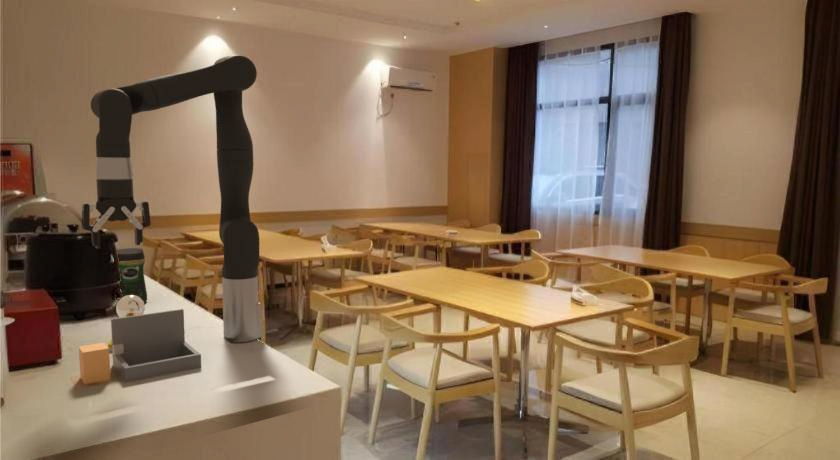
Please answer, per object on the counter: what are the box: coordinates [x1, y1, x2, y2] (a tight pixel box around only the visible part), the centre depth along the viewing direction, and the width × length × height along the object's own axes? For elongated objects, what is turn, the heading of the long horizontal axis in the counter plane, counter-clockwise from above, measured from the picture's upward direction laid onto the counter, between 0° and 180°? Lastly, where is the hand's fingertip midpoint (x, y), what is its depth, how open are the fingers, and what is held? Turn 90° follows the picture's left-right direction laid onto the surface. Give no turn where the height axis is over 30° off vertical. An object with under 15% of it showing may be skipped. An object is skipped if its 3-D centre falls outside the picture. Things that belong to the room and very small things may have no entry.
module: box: [78, 342, 111, 385], centre depth 129 cm, size 5×5×7 cm
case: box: [110, 308, 202, 383], centre depth 138 cm, size 16×13×12 cm
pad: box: [70, 369, 119, 390], centre depth 130 cm, size 8×8×1 cm
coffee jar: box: [115, 247, 148, 304], centre depth 199 cm, size 10×8×19 cm
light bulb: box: [115, 295, 146, 318], centre depth 161 cm, size 7×7×12 cm
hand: (118, 246), depth 140 cm, fingers open, 8 cm apart
